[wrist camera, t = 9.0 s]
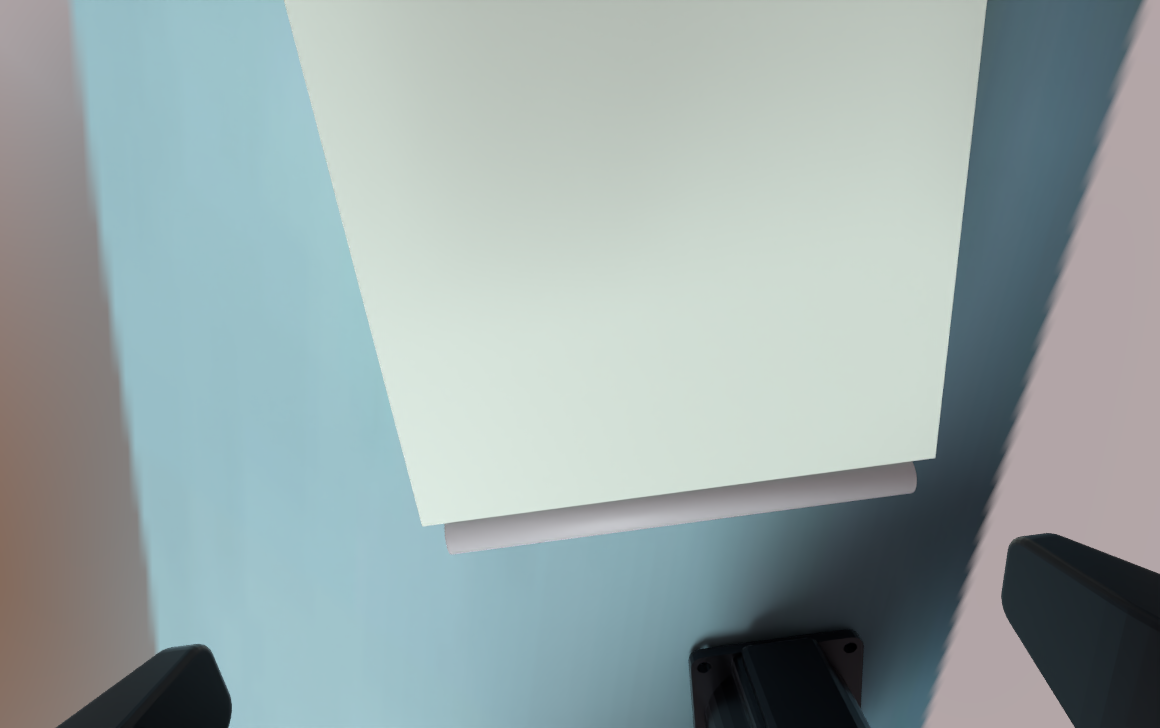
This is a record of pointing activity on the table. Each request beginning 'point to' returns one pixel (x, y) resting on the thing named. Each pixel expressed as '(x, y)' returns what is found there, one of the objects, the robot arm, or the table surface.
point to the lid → (649, 247)
